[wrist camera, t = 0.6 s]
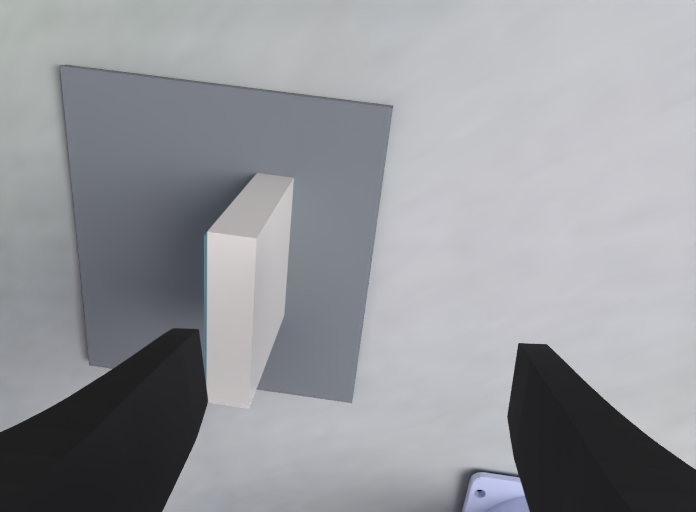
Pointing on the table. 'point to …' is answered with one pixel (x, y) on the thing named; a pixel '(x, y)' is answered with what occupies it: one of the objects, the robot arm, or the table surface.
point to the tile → (245, 287)
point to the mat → (208, 205)
